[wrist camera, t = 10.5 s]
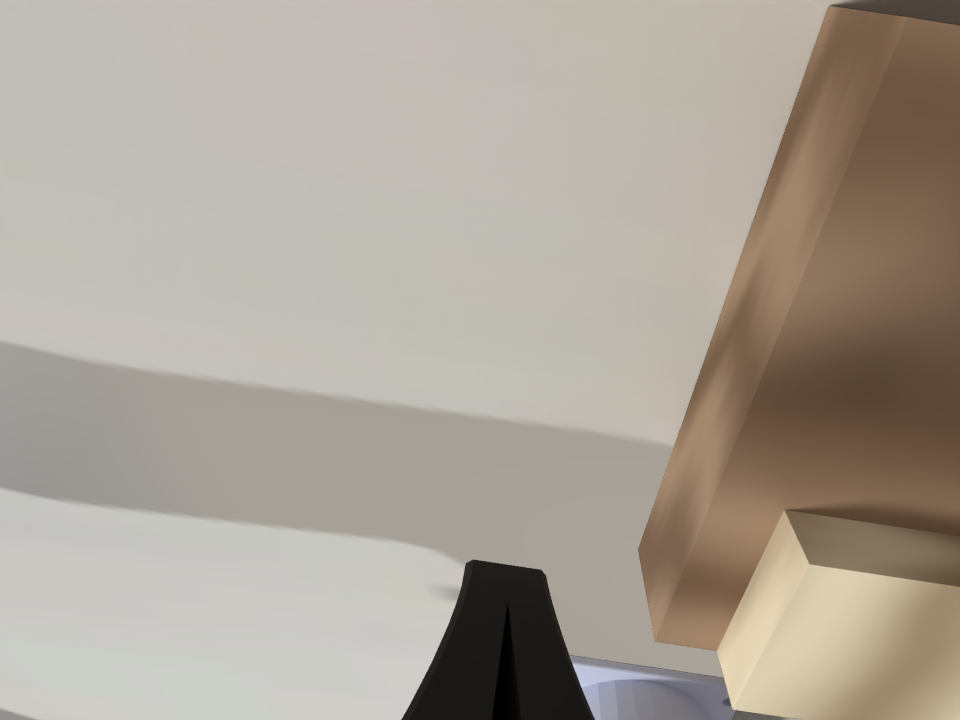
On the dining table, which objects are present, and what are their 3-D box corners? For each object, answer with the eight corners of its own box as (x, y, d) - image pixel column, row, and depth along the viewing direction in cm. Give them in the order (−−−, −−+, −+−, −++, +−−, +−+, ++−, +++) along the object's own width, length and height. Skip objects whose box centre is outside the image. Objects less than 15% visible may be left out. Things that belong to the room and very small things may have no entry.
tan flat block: (957, 597, 26) (1024, 696, 22) (638, 549, 26) (655, 641, 22) (1318, 85, 17) (1524, 116, 13) (828, 5, 17) (907, 17, 13)
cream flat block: (1103, 558, 19) (1160, 617, 17) (993, 691, 22) (1032, 753, 20) (784, 509, 19) (809, 564, 17) (716, 651, 22) (732, 709, 20)
